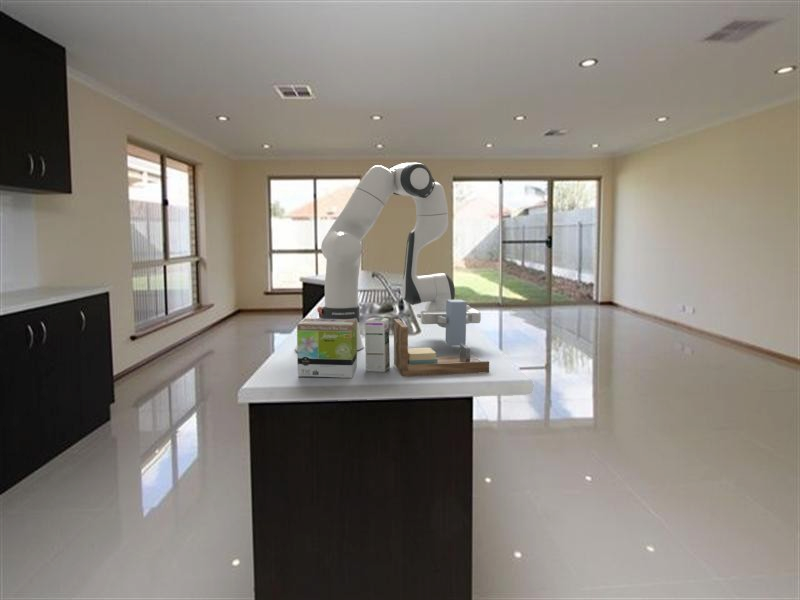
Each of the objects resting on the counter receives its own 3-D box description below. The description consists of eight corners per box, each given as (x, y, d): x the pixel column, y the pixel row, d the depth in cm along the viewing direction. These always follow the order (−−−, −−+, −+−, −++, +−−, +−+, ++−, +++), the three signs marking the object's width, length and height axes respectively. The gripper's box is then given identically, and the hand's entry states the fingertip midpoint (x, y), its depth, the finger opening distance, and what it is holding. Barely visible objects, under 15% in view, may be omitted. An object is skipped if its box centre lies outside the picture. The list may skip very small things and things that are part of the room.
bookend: (459, 360, 156) (459, 343, 155) (477, 360, 157) (477, 343, 156) (465, 365, 150) (466, 348, 149) (484, 364, 151) (484, 347, 150)
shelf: (393, 364, 158) (393, 318, 156) (473, 360, 162) (474, 316, 161) (402, 376, 144) (402, 327, 143) (489, 372, 149) (490, 324, 147)
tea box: (297, 378, 143) (295, 323, 141) (305, 368, 153) (304, 317, 151) (353, 378, 142) (352, 324, 141) (357, 369, 152) (357, 317, 151)
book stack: (403, 361, 155) (403, 347, 155) (430, 360, 156) (430, 346, 156) (409, 368, 147) (409, 354, 147) (437, 367, 148) (437, 352, 148)
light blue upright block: (450, 345, 170) (451, 302, 168) (445, 342, 176) (446, 299, 174) (465, 345, 171) (466, 301, 169) (460, 341, 177) (461, 299, 175)
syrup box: (385, 372, 149) (385, 320, 147) (365, 371, 150) (364, 320, 148) (390, 367, 154) (389, 317, 153) (370, 366, 156) (369, 317, 154)
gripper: (415, 305, 183) (424, 311, 170) (473, 305, 187) (486, 310, 173) (415, 323, 184) (424, 331, 170) (472, 322, 188) (485, 329, 174)
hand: (456, 320), depth 172 cm, fingers closed on light blue upright block, 5 cm apart
